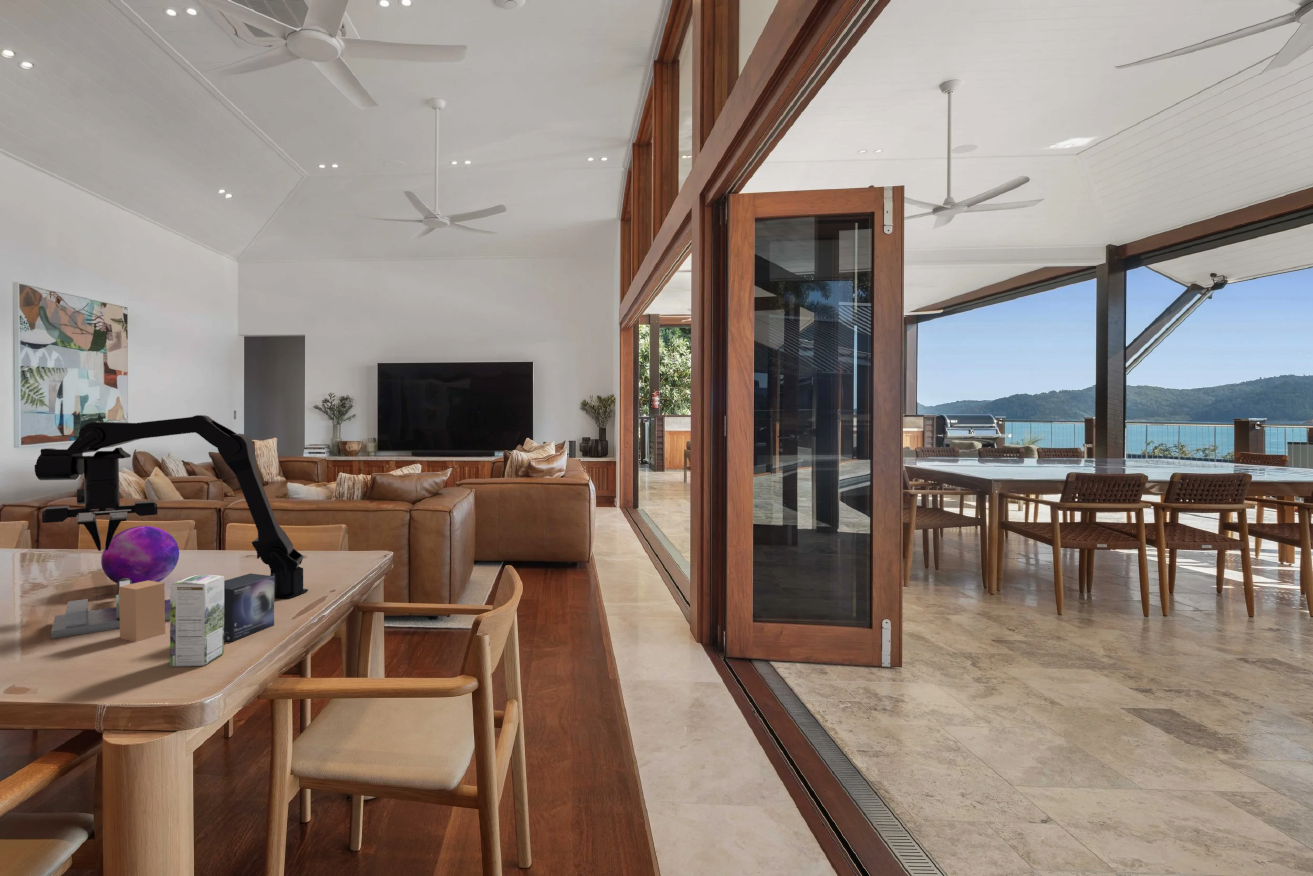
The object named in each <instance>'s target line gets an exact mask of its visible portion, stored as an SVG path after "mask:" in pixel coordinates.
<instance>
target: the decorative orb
mask: <svg viewBox="0 0 1313 876" xmlns="http://www.w3.org/2000/svg"><path fill="white" fill-rule="evenodd" d="M179 549H180V548H179V545H178V543H177V541H176V540H175V538H174V537H173V535H171V534H170V533H169V532H167V531H166V530H164V529H162V528H159V527H156V526H149V525H139V526H138V525H137V526H134V527H133V526H132V527H130V528H127V529H124V530H122V531H120V532H118V533H117V534H114V535H113V538H112V540H111V543H110V546H109V548H108V550H105V547H103V549H102V553H101V556H100V557H101V558H100V559H101V560H100V563H101V568H102V571H103V573H104V575H106V576H107V578H108V579H109V580H111V581H112V582H113V583H115V584H117V583H118V581H119V580H120V579H123V578H129V579H130V580H131V581H132V584H134V583H138V582H143V581H148V580H149V581H155V582H161V581H163V580H164V579H166V578H168V576H169V575H171V573H172V572H173V571H174V570H175V568H176V566H177V565H178V561H179V558H180V550H179Z"/></svg>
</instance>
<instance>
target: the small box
mask: <svg viewBox="0 0 1313 876" xmlns="http://www.w3.org/2000/svg"><path fill="white" fill-rule="evenodd" d="M274 577H275V576H270V575H268V574H266V575H265V574H259V573H258V574H257V573H251V572H250V573H247V574H243V575H239V576H236V577H233V578H229V579H226V580H225V579H224V642H228V643H233V642H235V641H238V640H240V639H242V638H246V637H248V636H250V635H252V634H253V635H254V634H256V633H257V632H260V631H263V630H265V629H268V628H270V627H273V626H275V597H274Z"/></svg>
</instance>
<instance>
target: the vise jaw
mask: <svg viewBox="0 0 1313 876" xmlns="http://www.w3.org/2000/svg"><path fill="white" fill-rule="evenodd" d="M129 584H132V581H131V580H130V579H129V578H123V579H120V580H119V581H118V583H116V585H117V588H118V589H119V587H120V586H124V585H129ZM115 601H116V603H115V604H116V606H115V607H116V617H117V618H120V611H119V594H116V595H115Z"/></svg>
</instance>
